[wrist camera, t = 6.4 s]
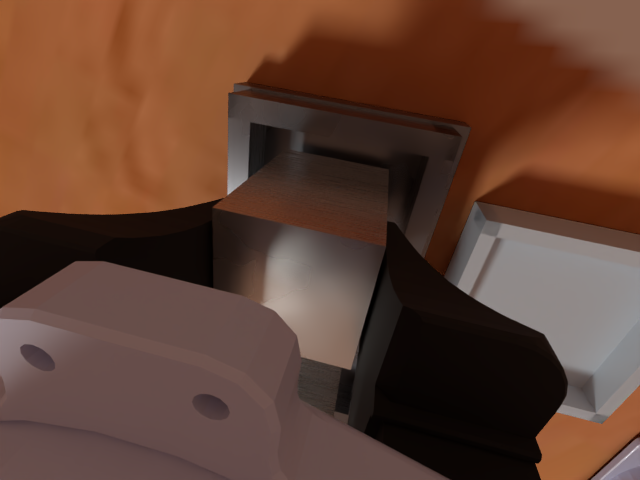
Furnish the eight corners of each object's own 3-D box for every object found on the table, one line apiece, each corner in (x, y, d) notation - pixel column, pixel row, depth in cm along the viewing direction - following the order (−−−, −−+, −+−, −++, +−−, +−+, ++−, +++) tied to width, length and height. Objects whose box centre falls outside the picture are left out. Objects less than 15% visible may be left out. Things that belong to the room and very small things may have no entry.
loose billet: (388, 169, 12) (386, 246, 7) (365, 258, 14) (350, 369, 9) (285, 148, 13) (212, 207, 8) (277, 238, 15) (214, 333, 10)
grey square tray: (700, 247, 13) (746, 274, 12) (581, 388, 18) (601, 423, 16) (474, 200, 14) (486, 220, 13) (414, 347, 19) (417, 376, 17)
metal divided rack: (465, 122, 13) (483, 137, 10) (372, 385, 21) (370, 431, 18) (245, 82, 14) (211, 86, 11) (237, 349, 22) (215, 388, 19)
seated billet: (349, 317, 17) (331, 429, 12) (336, 369, 19) (315, 485, 14) (275, 299, 17) (225, 400, 12) (269, 351, 19) (225, 457, 14)
